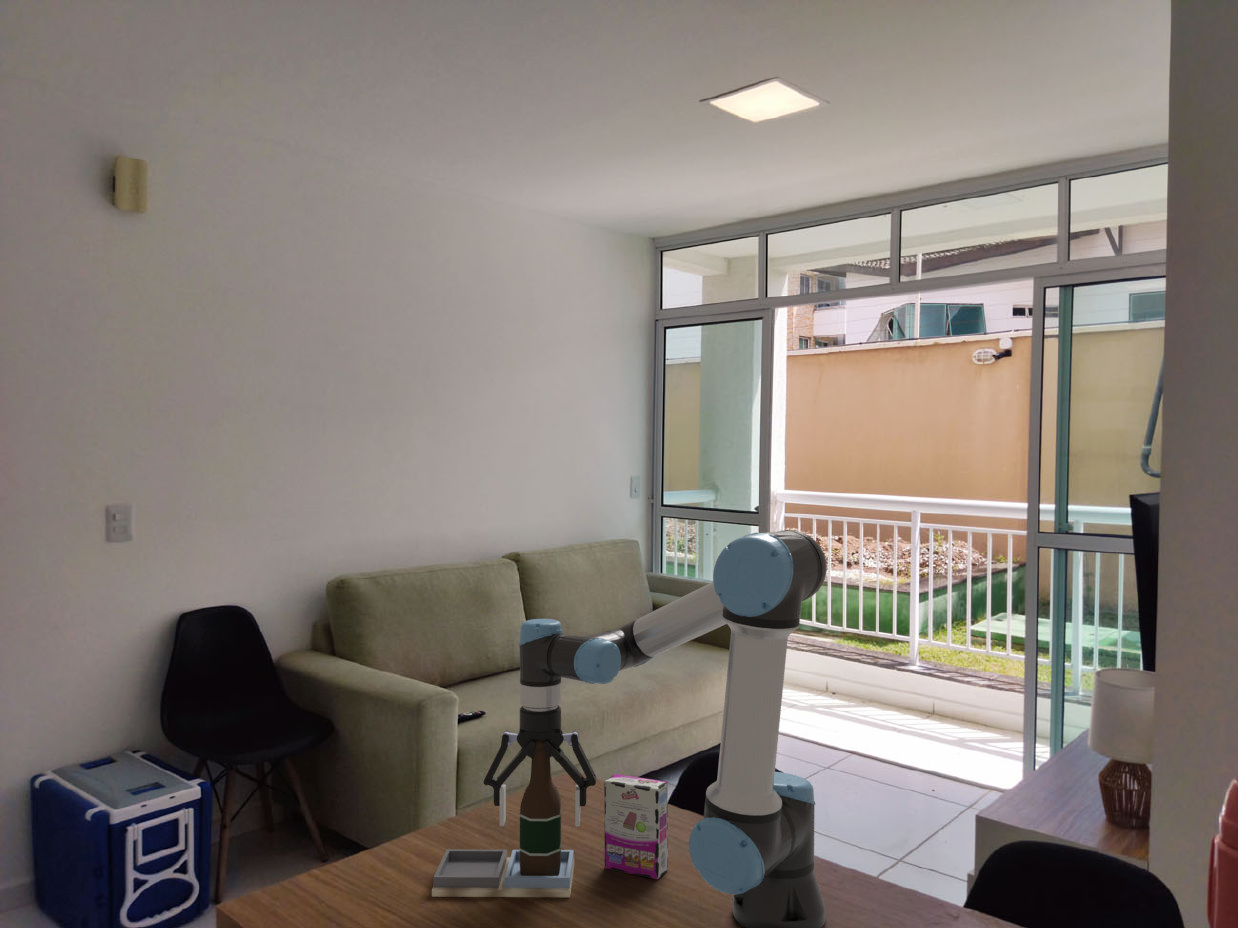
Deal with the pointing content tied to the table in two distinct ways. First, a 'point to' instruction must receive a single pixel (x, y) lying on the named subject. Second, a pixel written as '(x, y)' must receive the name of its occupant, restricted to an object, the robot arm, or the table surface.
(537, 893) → the board
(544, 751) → the beer bottle
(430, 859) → the table surface
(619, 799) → the candy bar box
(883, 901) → the table surface
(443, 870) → the tray
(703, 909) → the table surface
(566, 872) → the light blue shallow tray
